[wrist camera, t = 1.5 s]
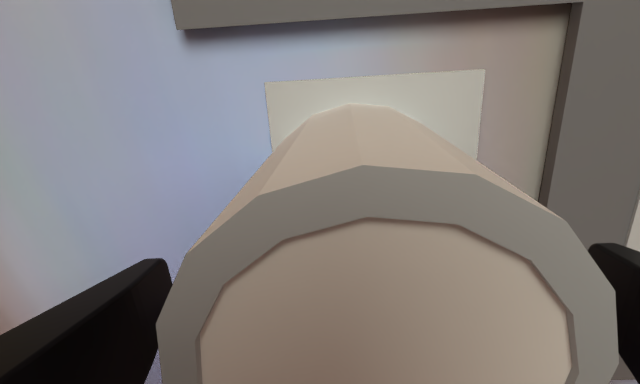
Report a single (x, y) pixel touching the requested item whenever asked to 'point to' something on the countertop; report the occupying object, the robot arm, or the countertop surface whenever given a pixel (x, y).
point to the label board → (467, 93)
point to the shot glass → (385, 271)
